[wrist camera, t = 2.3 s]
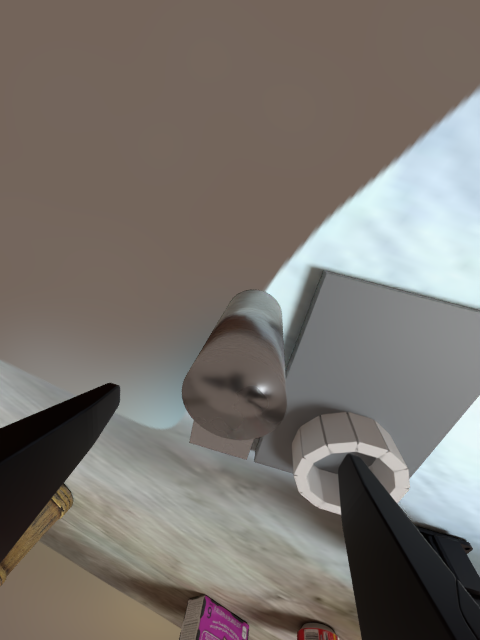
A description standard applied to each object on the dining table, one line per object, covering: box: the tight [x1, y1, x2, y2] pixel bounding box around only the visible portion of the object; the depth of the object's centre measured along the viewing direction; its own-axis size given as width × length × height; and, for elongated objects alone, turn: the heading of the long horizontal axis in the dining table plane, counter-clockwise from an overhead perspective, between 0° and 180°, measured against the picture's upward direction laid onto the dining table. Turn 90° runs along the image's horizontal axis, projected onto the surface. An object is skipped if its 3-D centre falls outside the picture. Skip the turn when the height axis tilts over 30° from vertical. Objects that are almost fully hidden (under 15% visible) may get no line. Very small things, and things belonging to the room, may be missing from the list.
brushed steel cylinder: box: [182, 290, 287, 460], centre depth 16 cm, size 9×5×10 cm, turn 167°
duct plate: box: [254, 270, 480, 515], centre depth 19 cm, size 20×14×4 cm
